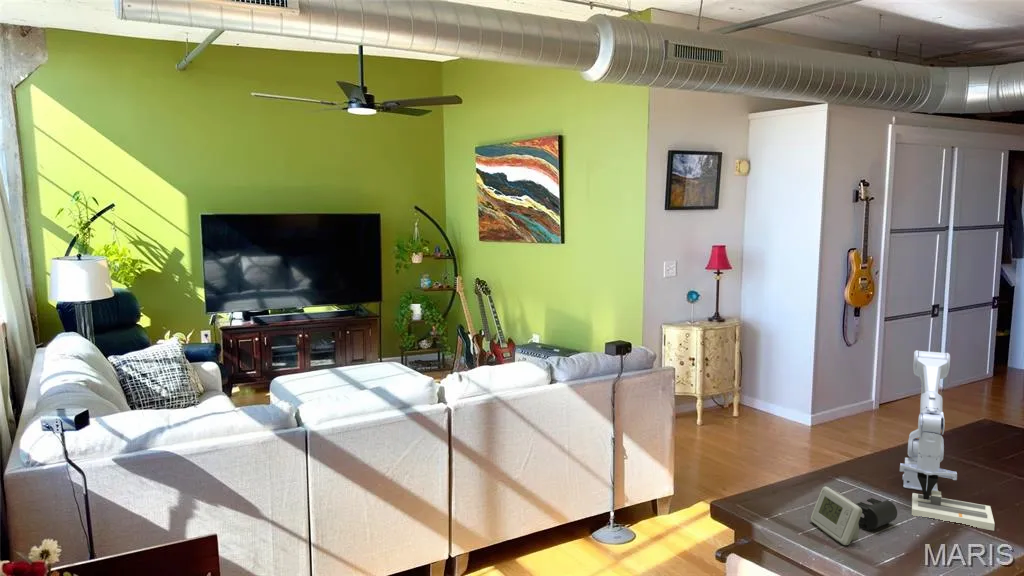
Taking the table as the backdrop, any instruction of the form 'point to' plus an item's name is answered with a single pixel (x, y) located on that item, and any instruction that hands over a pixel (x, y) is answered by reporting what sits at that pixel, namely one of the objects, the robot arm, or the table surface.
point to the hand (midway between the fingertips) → (926, 498)
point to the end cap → (876, 513)
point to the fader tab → (936, 498)
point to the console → (954, 511)
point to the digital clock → (837, 516)
